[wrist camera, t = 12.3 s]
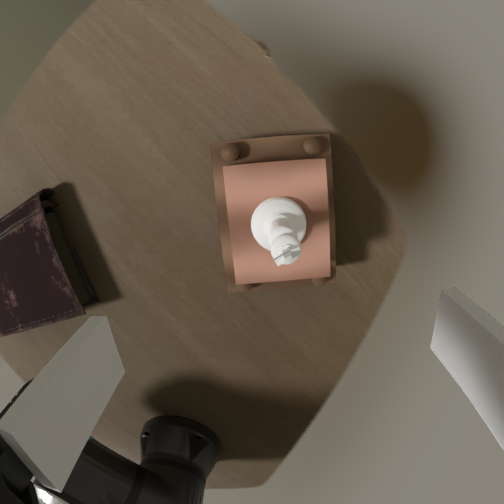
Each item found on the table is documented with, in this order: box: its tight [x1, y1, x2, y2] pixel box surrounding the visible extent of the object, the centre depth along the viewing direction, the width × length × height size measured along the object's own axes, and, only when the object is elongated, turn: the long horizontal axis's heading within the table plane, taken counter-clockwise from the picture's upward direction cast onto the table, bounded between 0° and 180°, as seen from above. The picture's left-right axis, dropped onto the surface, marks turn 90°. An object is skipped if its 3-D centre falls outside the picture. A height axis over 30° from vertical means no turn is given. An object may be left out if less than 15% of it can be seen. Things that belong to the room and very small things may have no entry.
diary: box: [0, 188, 99, 337], centre depth 38 cm, size 19×25×5 cm
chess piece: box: [251, 197, 306, 266], centre depth 23 cm, size 5×5×10 cm
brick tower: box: [210, 134, 336, 292], centre depth 32 cm, size 16×12×9 cm
